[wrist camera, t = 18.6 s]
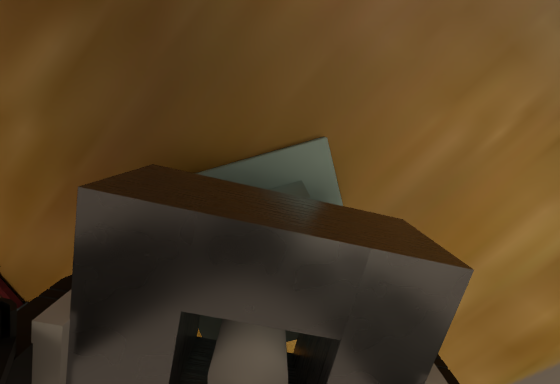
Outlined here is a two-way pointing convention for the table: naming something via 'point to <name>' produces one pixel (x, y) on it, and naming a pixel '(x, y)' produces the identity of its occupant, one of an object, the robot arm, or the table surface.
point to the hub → (248, 337)
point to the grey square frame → (250, 282)
